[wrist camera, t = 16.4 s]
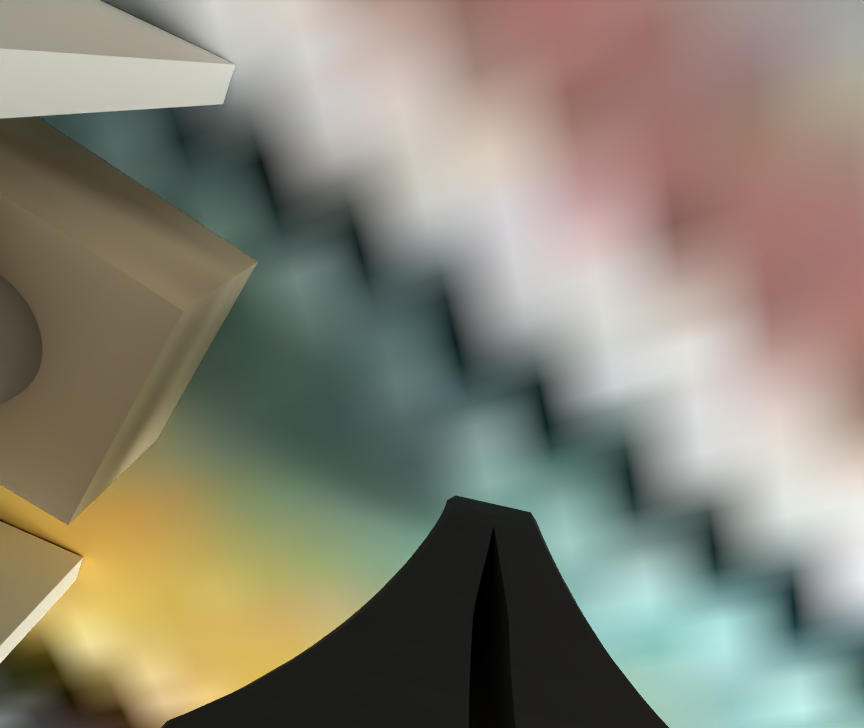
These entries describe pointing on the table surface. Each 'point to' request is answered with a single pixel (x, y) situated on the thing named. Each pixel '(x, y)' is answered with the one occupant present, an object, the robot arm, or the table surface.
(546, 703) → the robot arm
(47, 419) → the beige toy brick
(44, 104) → the open shelf unit
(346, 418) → the table surface
